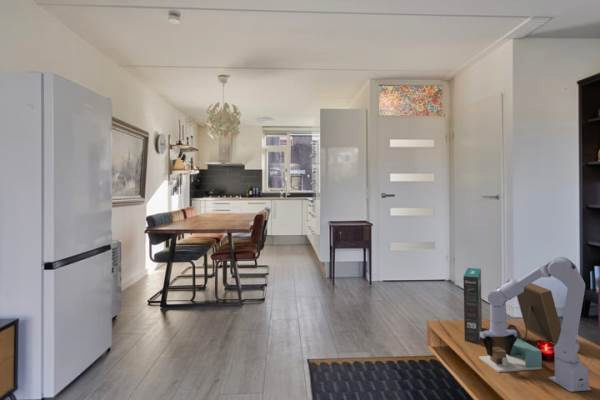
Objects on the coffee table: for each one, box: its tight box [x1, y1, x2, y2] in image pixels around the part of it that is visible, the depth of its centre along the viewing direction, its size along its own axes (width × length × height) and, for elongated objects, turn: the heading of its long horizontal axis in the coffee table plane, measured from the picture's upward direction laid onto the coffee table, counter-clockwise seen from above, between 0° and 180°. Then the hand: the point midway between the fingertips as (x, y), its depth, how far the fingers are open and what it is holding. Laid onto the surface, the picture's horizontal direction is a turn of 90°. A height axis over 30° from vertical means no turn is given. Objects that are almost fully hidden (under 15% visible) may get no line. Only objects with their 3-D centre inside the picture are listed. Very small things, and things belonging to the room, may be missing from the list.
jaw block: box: [490, 346, 506, 364], centre depth 142 cm, size 4×4×5 cm
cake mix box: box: [463, 267, 483, 344], centre depth 174 cm, size 22×6×30 cm, turn 150°
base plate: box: [478, 354, 543, 373], centre depth 143 cm, size 12×18×4 cm, turn 97°
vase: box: [506, 324, 522, 340], centre depth 160 cm, size 7×7×9 cm
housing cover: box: [507, 338, 543, 367], centre depth 143 cm, size 12×6×6 cm, turn 7°
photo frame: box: [516, 282, 562, 345], centre depth 168 cm, size 15×22×25 cm
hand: (498, 354), depth 142 cm, fingers open, 7 cm apart
